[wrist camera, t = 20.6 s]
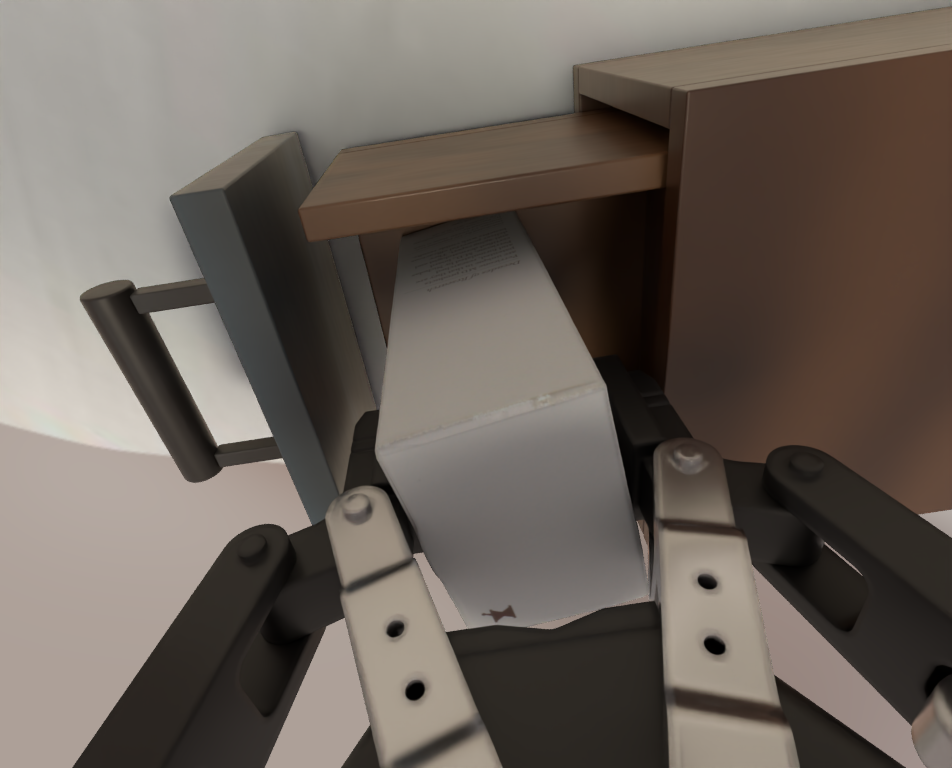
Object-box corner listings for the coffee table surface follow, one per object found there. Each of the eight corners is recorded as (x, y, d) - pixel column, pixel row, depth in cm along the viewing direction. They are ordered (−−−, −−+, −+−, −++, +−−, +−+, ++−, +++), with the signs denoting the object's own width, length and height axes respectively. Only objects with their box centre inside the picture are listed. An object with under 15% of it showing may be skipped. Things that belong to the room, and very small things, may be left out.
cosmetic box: (550, 340, 22) (656, 603, 12) (450, 370, 22) (469, 649, 12) (512, 192, 18) (614, 383, 8) (395, 231, 19) (359, 456, 9)
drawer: (250, 443, 25) (188, 590, 18) (116, 159, 18) (-60, 231, 11) (646, 383, 25) (725, 509, 18) (663, 74, 18) (800, 98, 11)
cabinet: (581, 392, 26) (651, 555, 18) (572, 65, 18) (687, 91, 10) (884, 346, 26) (1092, 488, 18) (1000, -2, 18) (1456, -29, 10)
